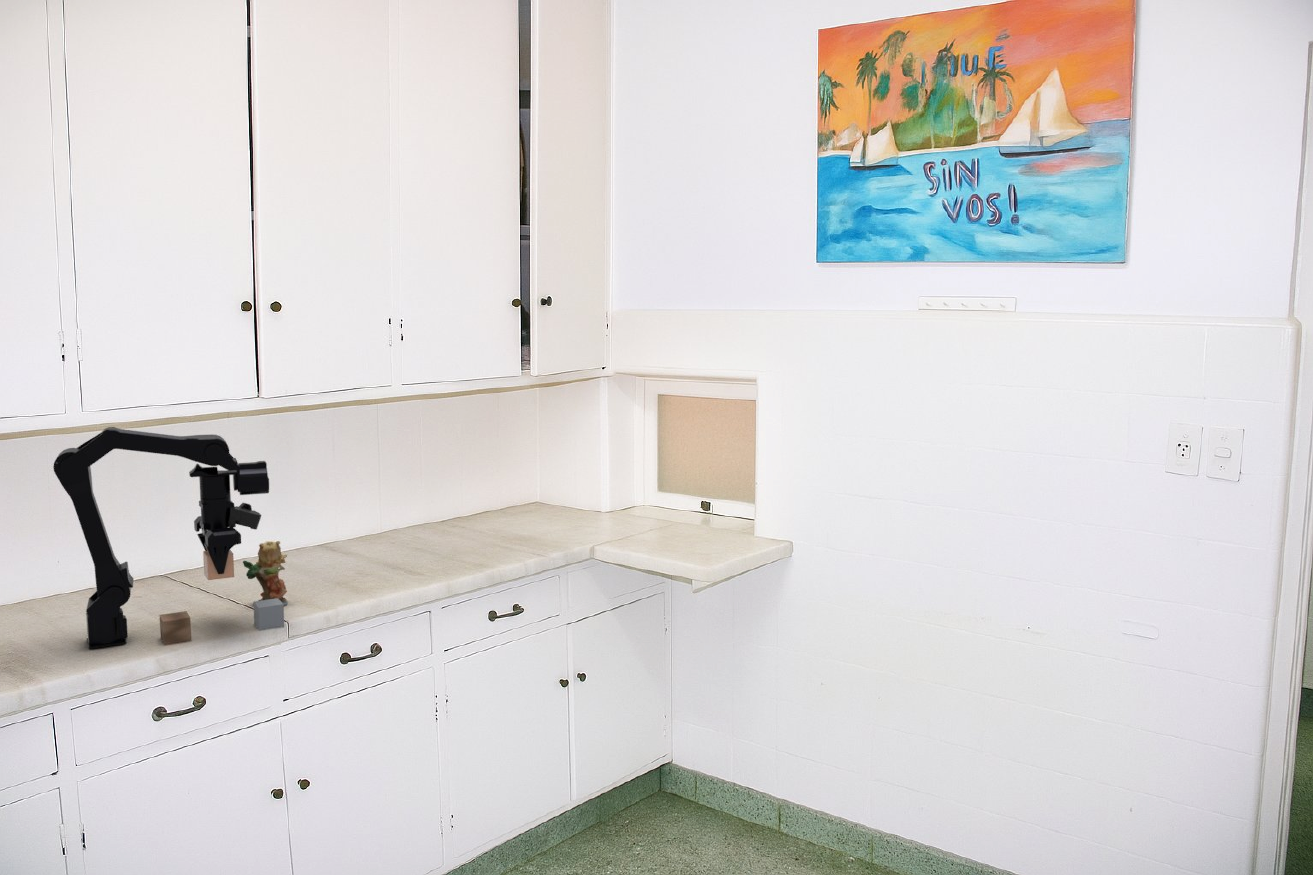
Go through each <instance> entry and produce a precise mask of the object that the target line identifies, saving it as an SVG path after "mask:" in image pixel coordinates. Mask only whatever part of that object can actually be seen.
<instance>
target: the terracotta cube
mask: <svg viewBox="0 0 1313 875" xmlns="http://www.w3.org/2000/svg"><path fill="white" fill-rule="evenodd" d="M202 557H203V558H202V559H203V574H204V576H205V578H206V580H207V581H214V580H220V579H222V580H223V579H231V578H235V563H234V558H235V557H234V553H233V551H232V549H230V550H229V554H228V558H227V562H226V567H225V571H224V574H218V573H217V571H216V568H215V566H214V564H213V562H212V560H211V557H210V555H209V553H208V551H205V550H203V551H202Z"/></svg>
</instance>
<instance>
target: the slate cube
mask: <svg viewBox="0 0 1313 875" xmlns="http://www.w3.org/2000/svg"><path fill="white" fill-rule="evenodd" d="M252 605H253V624H254V626H255V627H256V628H257V629H258V631H266V630H272V629H279V628H285V613H284V612H285V608H284V606H285V605H284V604H283V603H282V602H281V601H280V600H279V599H278V598H276V599H269V600H262V601H258V600H256V601H253V604H252Z"/></svg>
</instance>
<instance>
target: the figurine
mask: <svg viewBox="0 0 1313 875" xmlns="http://www.w3.org/2000/svg"><path fill="white" fill-rule="evenodd" d="M280 541H281V540H277V541H272V540H271V541H265V542H262V543H259V544H258V547H259V548H258V551H257V556H258V561H256V562H255V564H253V563H252V562H251V561H248V560H243V561H242V564H243V567H244V568H247V569H248V570H247V572H246V578H247V579H248V580H252V579H255V578H256V580H257V581H258V582H259V585H260V587H261V588H262V592H261V593H260V596H261V597H262V598H260V599H258V600H257V601H262V600H269V599H276V598H278V599H279V600H280V601H281V602H282V603H283V604H284V606H287V604H288V599H286V597H284V596H285V595H286V594H287V592H288V590H287V588H286V585H285V584H286V583H285V581H284V579H281V578H280V577H279V574H280V573H279V572H281V571H284V570H285V569H286V568H285V567H284V566H282V565H281V564H284V563H285V564H286V562H287V561H286V560H285V559H286V558H287V557H288V554H285V553H284V554H282V551H281V549H282V548H281V546H280V545H281V542H280Z"/></svg>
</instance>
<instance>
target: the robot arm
mask: <svg viewBox="0 0 1313 875" xmlns="http://www.w3.org/2000/svg"><path fill="white" fill-rule="evenodd" d="M113 450H123V451H132V452H133V451H134V452H142V453H149V454H150V453H151V454H159V455H166V456H167V455H168V456H177V457H179V458H184V459H186V460H187V459H188V460H190V461H192V462H195V466H194V467H193V468H192V469H191V470H189V472H188V474H189V475H188V476H189V477H190V478H199V495H200V498H199V499H200V500H198V506H199V508H200V515H199V516H197V517H196V518H195V519H194V520H193V524H194V526H193V527H194V531H195V532H196V533H197V532H199V533H197V536H198V539H199V541H200V543H201V546H202V548H203V549H204V551H208V553H209V555H210V557H211V560H212V562H213V564H214V566H215V568H216V571H217V573H218V574H224V571H225V567H226V562H227V558H228V554H229V550H232V548H233V547H234V546H236V545H241V544H242V534H241V533H240V532H239V531H238V530H237V529H236V527H237V525H238V526H242V527H247V528H250V530H258V527H259V523H260V521H261V519H262V518H261V517H262V514H261V513H260V512H258V511H256V510H253V509H252V505H251V504H250V503H246V502H241V504H240V505H239V506H238V505H237V506H235V503H234V502H233V501H232V499H231V498H232V497H231V496H232V494H231V476H232V482H233V483H232V484H233V485H232V486H233V492H234V491H235V492H237V493H239V496H248V495H265V494H269V492H270V478H269V474H268V468H267V465H268V464H267V462H266V460H259V461H255V462H254V461H253V462H252V461H251V462H239V461H238V460H237V459H236V458H237V457H233V455H232V454H231V453H230V447H229V445H228V443H227V441H226V440H225V438H223V437H222V436H221V435H218V434H193V435H184V436H183V435H182V436H181V435H173V434H164V433H157V432H156V433H154V432H149V431H148V432H146V431H139V430H131V429H121V428H118V427H115V426H109V427H106V428H104V429H103V430H102V431H101V432H100V433H98V434H97V435H95V436H93V437H91V438H90V439H88V440H86V441H85V442H83V443H81V444H80V445H79V446H77V447H69V448H65V449H63V450H62V451H61V452H59V453H58V456H57V457H56V458H55V460H54V463H53V468H52V469H53V472H54V474H55V476H56V478H57V479H58V481H59V483H60V484H61V486H62V488H63V489H64V491H65V492H66V494H67V496H69V497H70V499H71V502H72V504H73V507H74V509H75V512H76V515H77V519H78V522H79V524H80V527H81V530H82V534H83V536H84V539H85V541H86V544H87V549H88V551H89V553H90V556H91V559H92V562H93V565H94V576H95V578H94V579H95V585H96V586H95V587H96V591H95V592H94V593H93V594H92V595H91V596H90V597H89V598H88V600H87V604H86V605H87V606H86V610H85V612H86V614H85V616H86V617H85V618H86V631H87V638H86V643H87V647H88V649H89V650H93V649H101V648H106V647H107V648H108V647H113V646H119V645H120V646H121V645H126V644H127V640H126V639H128V637H129V635H128V621H127V620H128V618H127V616H126V615H124V611H123V609H122V608H121V607H123V606H124V605H125V604H126V603H128V602H129V599H130V598H131V594H132V593H131V592H132V588H133V587H134V579H135V578H134V577H133V576H132V575H131V573H130V570H129V563H128V561H124V562H122V563H120V562H119V560H118V559H117V557H116V556H115V553H114V551H113V547H112V545H111V541H110V539H109V536H108V532H107V529H106V526H105V523H104V521H103V518H102V514H101V512H100V509H99V506H98V503H97V500H96V497H95V494H94V490H93V489H94V488H93V477H92V469H91V466H92V465H94V464H95V463H97V462H98V461H100V459H102V458H103V457H105V456H106V455H108V454H109V453H111V452H112V451H113ZM199 463H200V464H202V465H206V466H201V465H200V464H199ZM218 466H220V467H221V468H223V469H225V470H219V469H218ZM200 530H201V532H200Z"/></svg>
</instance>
